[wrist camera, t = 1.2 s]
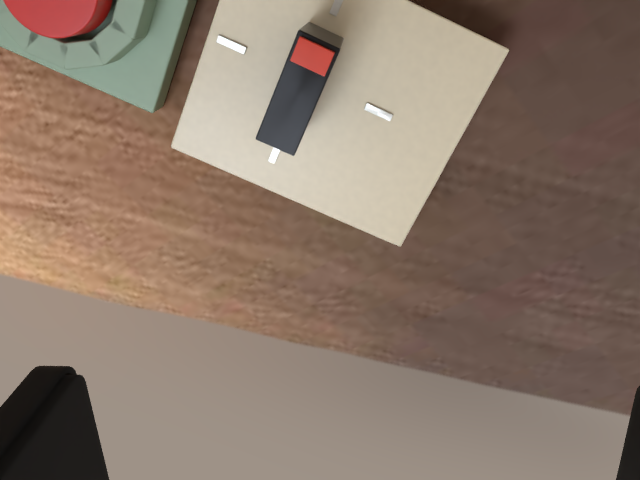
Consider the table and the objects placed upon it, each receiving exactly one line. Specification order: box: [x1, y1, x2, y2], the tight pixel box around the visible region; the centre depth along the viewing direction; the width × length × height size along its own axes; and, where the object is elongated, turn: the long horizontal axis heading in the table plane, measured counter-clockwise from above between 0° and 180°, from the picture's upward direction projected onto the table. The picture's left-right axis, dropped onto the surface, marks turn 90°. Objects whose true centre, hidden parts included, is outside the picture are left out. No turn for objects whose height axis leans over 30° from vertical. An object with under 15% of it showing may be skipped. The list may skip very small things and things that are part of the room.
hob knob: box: [256, 22, 344, 156], centre depth 26 cm, size 5×2×5 cm, turn 156°
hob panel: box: [171, 0, 509, 247], centre depth 29 cm, size 13×11×3 cm
